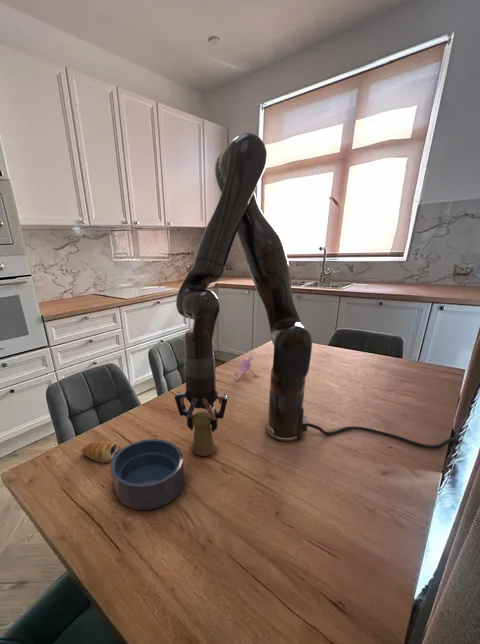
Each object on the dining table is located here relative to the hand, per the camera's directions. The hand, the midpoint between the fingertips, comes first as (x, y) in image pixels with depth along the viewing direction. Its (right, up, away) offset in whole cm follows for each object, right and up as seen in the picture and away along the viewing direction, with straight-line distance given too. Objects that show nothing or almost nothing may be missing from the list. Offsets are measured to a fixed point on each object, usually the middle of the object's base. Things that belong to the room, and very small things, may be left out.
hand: (202, 428), depth 83 cm
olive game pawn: (0, -6, +3) cm, 7 cm away
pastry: (-28, -8, +3) cm, 29 cm away
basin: (-13, -12, -8) cm, 19 cm away
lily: (+26, +15, +47) cm, 55 cm away
